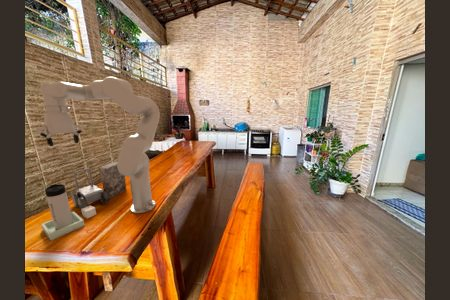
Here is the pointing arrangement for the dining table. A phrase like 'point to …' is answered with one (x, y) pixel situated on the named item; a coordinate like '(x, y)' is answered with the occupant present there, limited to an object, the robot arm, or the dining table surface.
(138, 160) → the robot arm
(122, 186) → the stone block
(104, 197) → the trolley
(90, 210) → the white block
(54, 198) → the travel mug
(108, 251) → the dining table surface
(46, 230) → the tray
